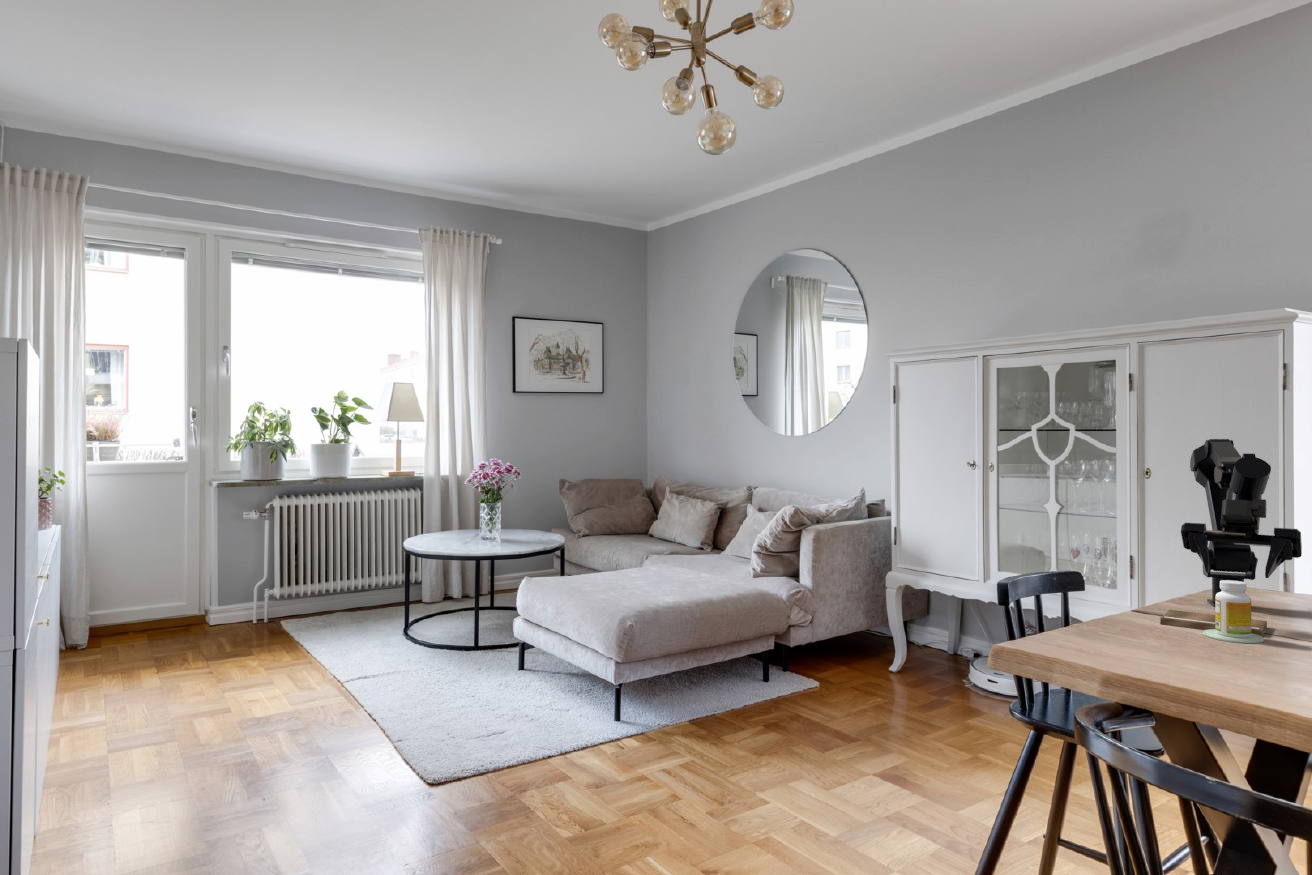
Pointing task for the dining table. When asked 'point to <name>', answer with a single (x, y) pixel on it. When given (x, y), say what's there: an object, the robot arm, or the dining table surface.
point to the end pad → (1251, 639)
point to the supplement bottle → (1233, 610)
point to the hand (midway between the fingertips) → (1236, 573)
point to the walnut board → (1203, 621)
